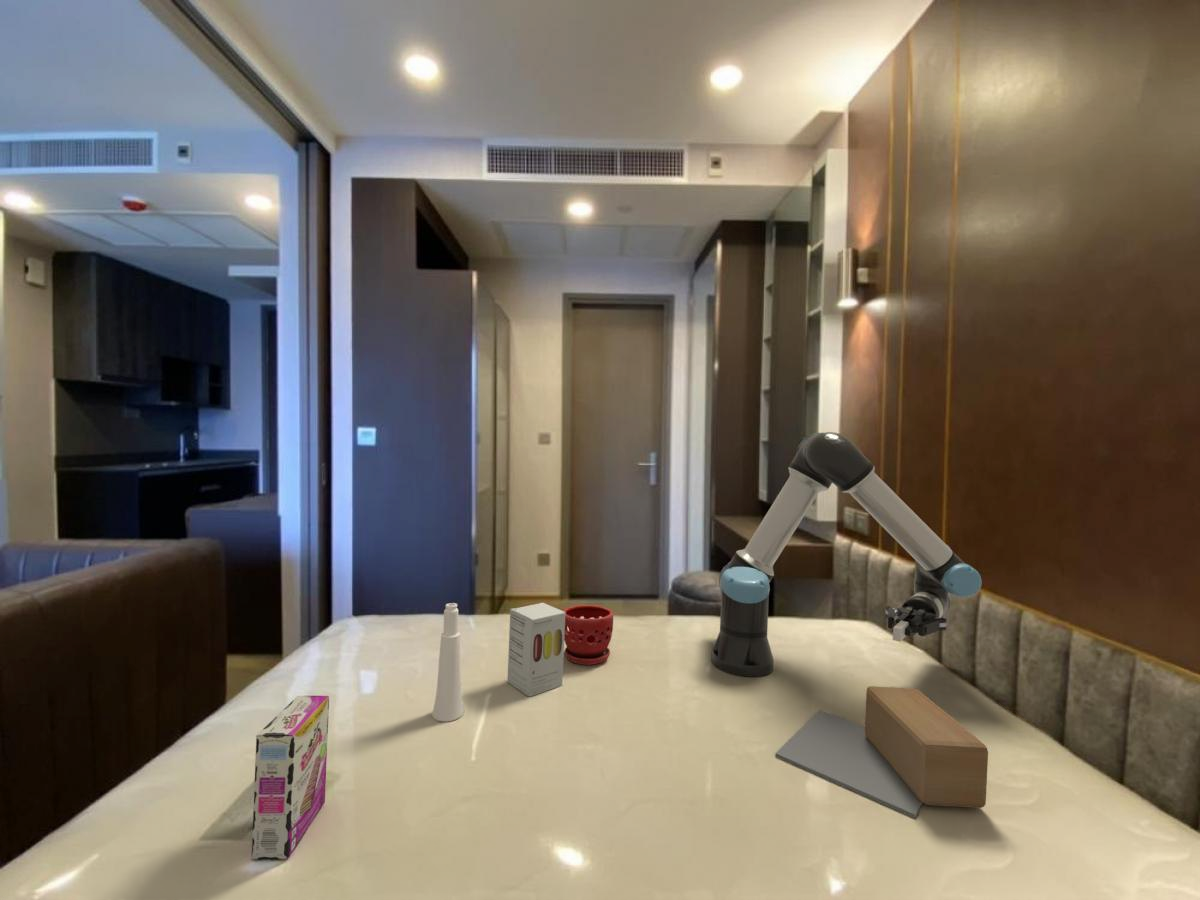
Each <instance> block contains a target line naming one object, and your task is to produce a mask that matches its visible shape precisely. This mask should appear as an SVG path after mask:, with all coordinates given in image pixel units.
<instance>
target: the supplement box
mask: <svg viewBox="0 0 1200 900" xmlns="http://www.w3.org/2000/svg"><path fill="white" fill-rule="evenodd" d="M509 611H510V612H509V629H508V630H509V632H508V633H509V634H508V635H509V636H508V655H507V656H508V657H507V658H508V659H507V678H506V679H507V683H509V684H510V685H512V686H513V687H515V688H516V689H517V690H519V692H521V693H523V694H525V695H526V696H527V697H529V698H530V697H532V696H536V695H539V694H542V693H544V692H547V691H550V690H553V689H556V688H560V687H562V686H563V680H564V679H563V677H564V676H563V675H564V656H565V641H564V634H565V612H563V611H564V610H561V609H559V608H556V607H554V606H552V605H550V604H547V603H546V602H539V603H535V604H530V605H526V606H521V607H516V608H510V610H509Z"/></svg>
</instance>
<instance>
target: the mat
mask: <svg viewBox="0 0 1200 900" xmlns="http://www.w3.org/2000/svg"><path fill="white" fill-rule="evenodd" d="M774 754H775V755H774V756H775V757H776V758H778V759H780V760H782V761H785V762H787V763H789V764H791V765H794V766H796V767H799V769H802V770H805V771H806V772H809V773H811V774H814V775H816V776H819V777H821V778H823V779H825V780H828V781H830V782H832V783H835V784H837V785H839V786H841V787H843V788H845V789H847V790H850V791H852V792H854V793H857V794H859V795H862V796H863V797H866V798H869V799H870V800H873V801H874V802H876V803H879V804H882V805H884V806H886V807H888V808H891V809H893V810H895V811H898V812H899V813H902V814H904V815H906V816H908V817H910V818H914V819H917V816H918V814H919V812H920V810H921V808H922V805H923V803H922V802H921V801H920V800H919V799H918V798H917V796H916V795H915V794H914V793H913V792H912V791H911V789H910V788H909V787H908V786H907V785H906V783H905V782H904V781H903V780H902V779H901V777H900V776H899V775H898V774H897V773H896V771H895V770H894V769H893V768H892V767H891V766H890V764H889V763H888V762H887V761H886V760H885V758H884V757H883V756H882V755H881V754H880V752H879V751H878V750H877V749H876V748H875V746H874V745H873V744H872V743H871V742H870V741H869V739H868V738H867V737H866V734H865V724H861V723H858V722H855V721H852V720H850V719H847V718H844V717H842V716H839V715H837V714H834V713H831V712H827V711H825V710H822V709H818V711H817V712H815V713H814V715H812V716H811V717H810V718H809V719H808V720H807V721H806V722H805V723H804V724H803V726H800V728H799V729H798V730H797V731H796V732H795V733H794V734H793V735H792V736H791V737H790V738H789V739H788V740H787V741H786V742H785V743H784V744H783V745H782V746H781V747H780V748H779V749H778V750H777V751H776V752H775V753H774Z"/></svg>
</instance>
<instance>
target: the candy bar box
mask: <svg viewBox="0 0 1200 900" xmlns="http://www.w3.org/2000/svg"><path fill="white" fill-rule="evenodd" d="M329 709H330V696H329V695H296V697H294V699H292V701H291V702H289V703H288V704H287V706H285V708H283V710H281V711H280V712H279V713H278V714H277V715H276V716H275V717H274V718H273V719H272V720H271V721H270V722H269V723H268V724H266V725H265V726H264V727H263V729H262V730H260V731H259V732H258V733H257V734H256V736H255V737H256V739H255V740H256V742H255V761H254V762H255V766H254V767H255V768H254V785H253V786H254V787H253V790H254V791H253V792H254V794H253V795H254V796H253V814H252V816H253V817H252V819H253V820H252V834H251V835H252V836H251V837H252V839H251V856H250V857H251V858H250V860H252V861H286V860H287V861H288V860H289V859H290V858H291V856H292V854H293V853H294V851H295V850H296V849H297V846H298V845H299V844H300V842H301V840H302V839H303V837H304V835H305V834H306V832H307V831H308V829H309V827H310V826H311V825H312V823H313V822H314V820H315V818H317V815H318V814H319V811H321V809H322V807H323V806H324V804H325V803H326V783H327V782H326V781H327V757H328V734H329V713H330V712H329Z"/></svg>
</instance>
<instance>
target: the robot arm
mask: <svg viewBox="0 0 1200 900" xmlns="http://www.w3.org/2000/svg"><path fill="white" fill-rule="evenodd" d="M875 469H876V467H875V465H874V464H873V463H872V462H871V461H870V460H869V459H868V458H867V457H866V456H865V455H864V453H862V451H861V450H860V449H859V448H858V447H857V446H856V445H855V444H854V442H852V441H851V440H850V439H849V438H848V437H847V436H845V435H842V434H841V433H837V432H832V431H831V432H830V431H827V432H816V433H815V432H814V433H812V434H810V435H808V436H806V437H805V438H804V439H802V441H801V442H800V443H799V444H798V446H797V450H796V455H794V458H793V459H792V461H791V462H790V465H789V466H788V472H789V477H788V479H787V480H786V481H785V484H784V485H783V486H782V488H781V490H780V491H779V493H778V494H777V495H776V498H775V500H773V503H772V504H771V506H770V508H769V509H768V511H767V512H766V514H765V515H764V517H763V519H762V521H761V522H760V524H759V525H758V527H757V528H756V529H755V532H754V533H753V535H752V536H751V538H750V540H749V541H748V542H747V544H746V546H745V548H743V549H739V550H736V551H735V553H734V555H733V556H732V557H731V560H730V561H729V562H728V563H727V564H726V565H725V566H723V568H722V570H721V571H720V574H719V577H718V586H719V592H720V613H719V615H720V619H719V621H720V623H719V632H718V634H717V637H716V639H715V642H714V645H713V648H712V652H711V662H712V664H713V666H715V667H716V668H718V669H719V670H722V671H723V672H727V673H729V674H731V675H737V676H743V677H763V676H766V674H767V675H769V674H770V672H771V673H772V672H773V671H772V670H774V656H773V653H772V649H771V645H770V642H769V639H768V625H769V623H768V622H769V602H770V601H769V597H770V591H771V586H770V583H771V581H772V579H773V577H774V576H775V572H774V564H775V563H776V561H777V560H778V558H779V557H780V555H781V554H782V552H783V550H784V549H785V547H786V546H787V544H788V543H789V541H790V539H791V538H792V536H793V534H794V533H795V531H796V530H797V528H798V527H799V525H800V523H801V522H802V521H803V518H804V517H805V515H806V514H807V512H808V511H809V509H810V508H811V505H812V504H813V503H814V501H815V500H816V498H817V497H818V495H819V493H821V492H824V491H828V490H829V489H830V487H831V486H832V484H833V485H835V486H836V487H837V488H838V489H839V490H840V492H842V493H845V494H847V493H848V494H850V495H851V497H852V498H853V499H854V500H855V501H856V502H857V503H859V505H860V506H862V508H863V509H865V511H866V512H867V513H869V514H870V516H872V518H873V519H874V520H875V521H876V522H877V523H878V524H879V525H880V526H881V528H883V529H884V530H885V531H886V532H887V533H888V534H889V535H890V536H891V537H892V538H893V539H895V541H896V542H897V543H898V544H899V545H900V546H901V547H902V548H903V549H904V550H905V551H906V552H907V553H908V554H909V555H910V556H911V557H912V558H913V559H914V561H915V563H914V564H915V565H914V567H915V571H914V592H913V595H912V596H910V598H908V599H907V600H906V601H904V603H903V604H902V606H901V607H898V608H894V607H891V606H890V605H886V606H885V614H884V615H885V616H884V617H885V618H886V619H887V628H888V629H891V632H892V641H896V642H902V641H903V640H905V638H906V637H912V636H913V635H916V634H918V636H921V637H926V636H928V635H931V634H934V633H937V632H939V631H946V630H947V618H945V617H942V616H944V615H946V613H948V611H949V610H950V607H951V603H952V602H951V601H952V599H951V596H950V595H949V594H951V595H954V596H956V597H960V598H970V597H972V596H974V595H976V594H977V593H978V592H979V591H980V590H981V587H982V583H983V581H982V577H981V574H980V573H979V572H978V570H976V569H975V568H974V567H972V565H970V564H968V563H965V562H964V561H963V560H962V559H961V558H960V557H959V556H958V555H957V554H956V553H955V552H954V551H953V550H952V549H951V546H949V545H948V544H946V543H945V542H944V541H943V540H942V539H941V538H940V536H938V535H937V533H935V532H934V531H933V530H932V529H931V528H930V526H928V525H927V524H926V522H924V521H923V520H922V519H921V518H920V517H919V515H917V514H916V513H915V512H914V510H913V509H911V508H910V507H909V506H908V505H907V504H906V503H905V501H903V500H902V499H901V498H900V497H899V496H898V495H897V494H896V492H895V491H893V490H892V488H890V487H889V486H888V484H887V483H885V481H883V480H882V479H881V477H879V475H878V474H877V473H876V472H875ZM896 616H897V618H896V619H895V617H896Z"/></svg>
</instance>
